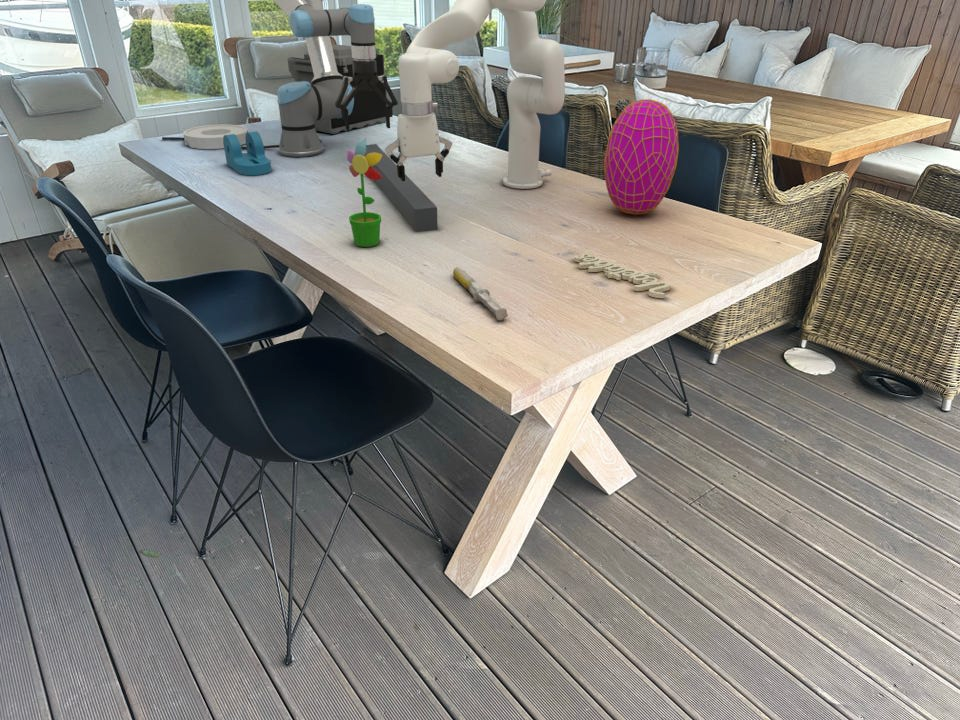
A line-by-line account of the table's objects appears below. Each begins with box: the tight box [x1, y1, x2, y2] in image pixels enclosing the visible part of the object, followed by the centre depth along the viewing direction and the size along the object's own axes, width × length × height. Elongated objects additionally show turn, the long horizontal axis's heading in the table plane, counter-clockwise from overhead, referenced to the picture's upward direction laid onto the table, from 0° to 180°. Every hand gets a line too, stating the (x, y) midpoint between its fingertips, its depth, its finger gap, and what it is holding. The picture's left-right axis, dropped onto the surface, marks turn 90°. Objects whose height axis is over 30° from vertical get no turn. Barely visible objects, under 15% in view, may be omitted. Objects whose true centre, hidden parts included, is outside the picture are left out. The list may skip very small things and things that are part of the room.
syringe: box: [452, 266, 509, 321], centre depth 145 cm, size 25×4×3 cm, turn 21°
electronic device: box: [287, 43, 388, 135], centre depth 281 cm, size 37×22×30 cm, turn 144°
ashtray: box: [182, 123, 249, 150], centre depth 260 cm, size 23×23×4 cm
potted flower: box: [346, 138, 382, 248], centre depth 165 cm, size 9×8×25 cm
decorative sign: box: [574, 252, 671, 299], centre depth 155 cm, size 26×1×10 cm
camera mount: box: [223, 131, 272, 176], centre depth 226 cm, size 18×10×10 cm, turn 35°
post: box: [365, 143, 439, 233], centre depth 207 cm, size 72×6×6 cm, turn 20°
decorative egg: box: [603, 98, 680, 215], centre depth 186 cm, size 19×19×30 cm
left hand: (368, 128), depth 228 cm, fingers open, 13 cm apart
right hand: (420, 177), depth 177 cm, fingers open, 9 cm apart
